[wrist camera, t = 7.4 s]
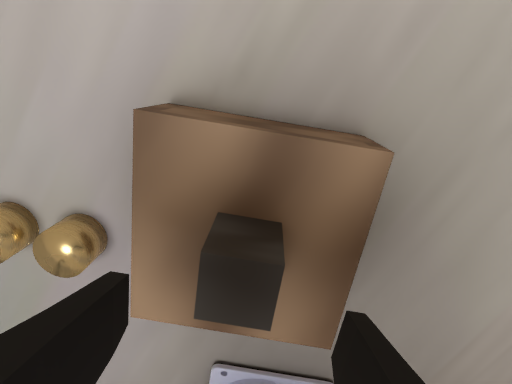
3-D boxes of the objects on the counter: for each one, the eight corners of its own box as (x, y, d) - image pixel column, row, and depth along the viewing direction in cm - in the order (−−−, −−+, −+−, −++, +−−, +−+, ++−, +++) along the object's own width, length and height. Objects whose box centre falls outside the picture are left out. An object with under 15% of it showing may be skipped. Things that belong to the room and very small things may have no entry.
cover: (363, 135, 16) (438, 176, 9) (318, 295, 20) (345, 417, 13) (168, 103, 16) (83, 117, 9) (159, 269, 20) (94, 376, 13)
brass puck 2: (107, 217, 19) (85, 235, 17) (108, 259, 20) (87, 281, 18) (58, 209, 19) (30, 226, 17) (62, 252, 20) (35, 272, 18)
